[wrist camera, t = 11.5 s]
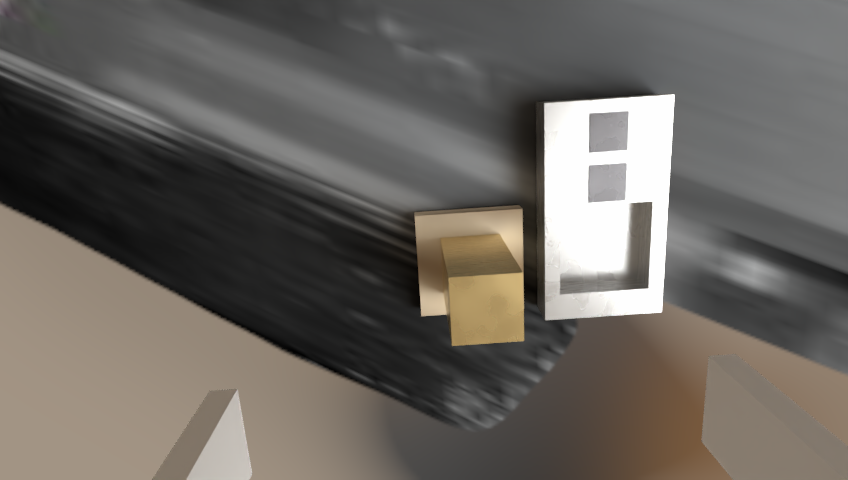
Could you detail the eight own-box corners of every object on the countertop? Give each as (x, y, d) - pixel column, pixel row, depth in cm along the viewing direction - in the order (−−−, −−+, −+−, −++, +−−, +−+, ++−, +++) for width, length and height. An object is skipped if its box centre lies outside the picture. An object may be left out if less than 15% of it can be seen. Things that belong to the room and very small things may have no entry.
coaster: (414, 212, 47) (414, 216, 46) (519, 205, 47) (522, 208, 46) (421, 309, 50) (421, 316, 48) (520, 302, 50) (524, 309, 48)
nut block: (440, 237, 46) (448, 277, 37) (499, 233, 46) (523, 272, 37) (443, 293, 48) (452, 345, 38) (500, 289, 48) (524, 340, 38)
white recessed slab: (535, 102, 45) (544, 103, 42) (657, 94, 45) (674, 94, 42) (537, 306, 50) (545, 320, 47) (647, 299, 50) (662, 312, 47)
